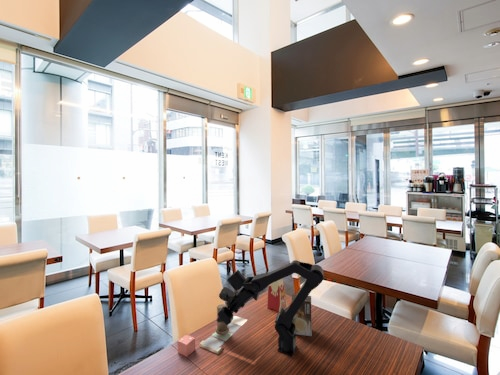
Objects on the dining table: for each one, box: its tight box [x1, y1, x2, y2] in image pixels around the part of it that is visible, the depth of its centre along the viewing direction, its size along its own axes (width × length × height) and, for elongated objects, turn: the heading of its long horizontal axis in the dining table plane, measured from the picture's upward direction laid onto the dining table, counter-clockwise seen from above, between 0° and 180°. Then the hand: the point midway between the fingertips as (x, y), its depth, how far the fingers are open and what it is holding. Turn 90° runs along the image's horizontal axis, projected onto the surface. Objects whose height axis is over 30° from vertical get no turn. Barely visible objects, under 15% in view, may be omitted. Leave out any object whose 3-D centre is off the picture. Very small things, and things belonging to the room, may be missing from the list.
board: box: [198, 315, 248, 355], centre depth 118 cm, size 10×26×1 cm, turn 150°
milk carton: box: [266, 278, 288, 313], centre depth 140 cm, size 9×9×20 cm
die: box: [177, 334, 196, 358], centre depth 107 cm, size 5×5×5 cm
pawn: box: [215, 303, 229, 335], centre depth 115 cm, size 6×6×11 cm
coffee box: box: [291, 293, 313, 337], centre depth 120 cm, size 9×6×16 cm
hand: (219, 318), depth 116 cm, fingers closed on pawn, 5 cm apart
